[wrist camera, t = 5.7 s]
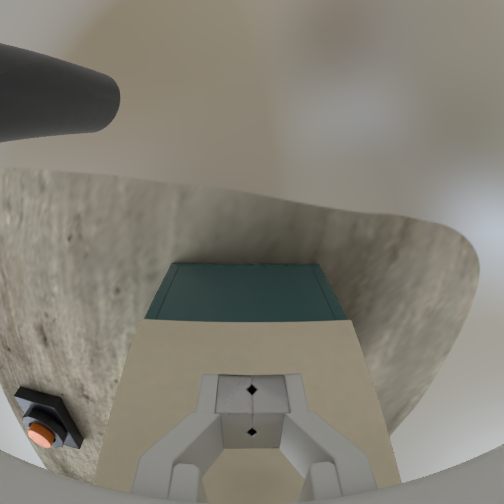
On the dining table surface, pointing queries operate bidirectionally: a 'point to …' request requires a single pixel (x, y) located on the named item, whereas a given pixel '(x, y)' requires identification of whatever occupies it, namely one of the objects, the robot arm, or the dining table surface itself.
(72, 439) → the push button housing
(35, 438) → the flush button
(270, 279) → the teal hollow open box
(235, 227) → the dining table surface
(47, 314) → the dining table surface
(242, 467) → the beige flat rectangular panel
